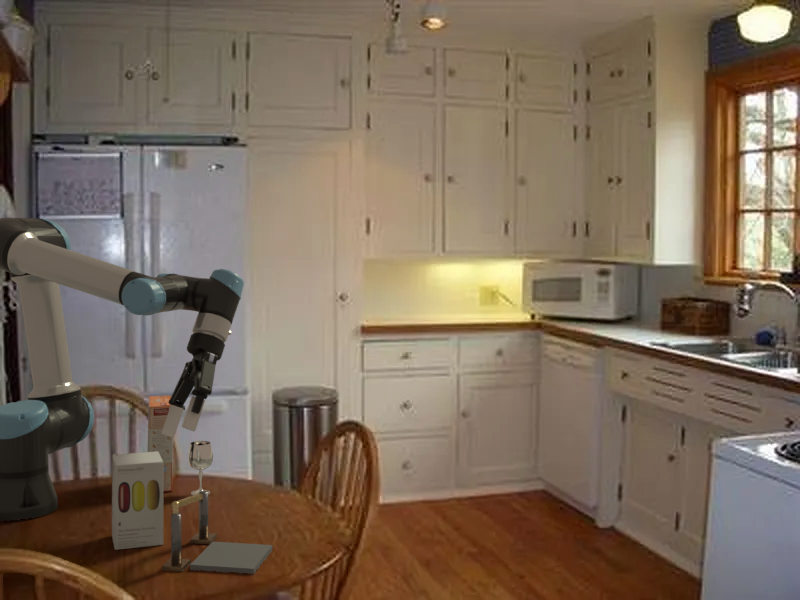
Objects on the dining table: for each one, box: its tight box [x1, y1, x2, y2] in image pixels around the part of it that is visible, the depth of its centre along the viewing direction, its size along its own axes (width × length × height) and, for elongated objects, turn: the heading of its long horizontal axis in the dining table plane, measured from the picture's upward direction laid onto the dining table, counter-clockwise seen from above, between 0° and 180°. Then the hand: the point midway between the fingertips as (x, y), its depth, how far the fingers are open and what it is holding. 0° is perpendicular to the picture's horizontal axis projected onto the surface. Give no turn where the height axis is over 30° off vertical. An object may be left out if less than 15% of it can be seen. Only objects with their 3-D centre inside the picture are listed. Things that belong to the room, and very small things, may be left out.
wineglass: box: [187, 440, 214, 496], centre depth 201 cm, size 6×6×12 cm
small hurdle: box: [161, 490, 218, 573], centre depth 163 cm, size 6×18×10 cm, turn 173°
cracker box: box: [147, 395, 174, 493], centre depth 207 cm, size 14×6×21 cm, turn 17°
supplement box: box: [111, 451, 164, 551], centre depth 169 cm, size 10×9×17 cm
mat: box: [189, 541, 273, 575], centre depth 160 cm, size 12×12×1 cm
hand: (177, 432), depth 174 cm, fingers open, 13 cm apart
